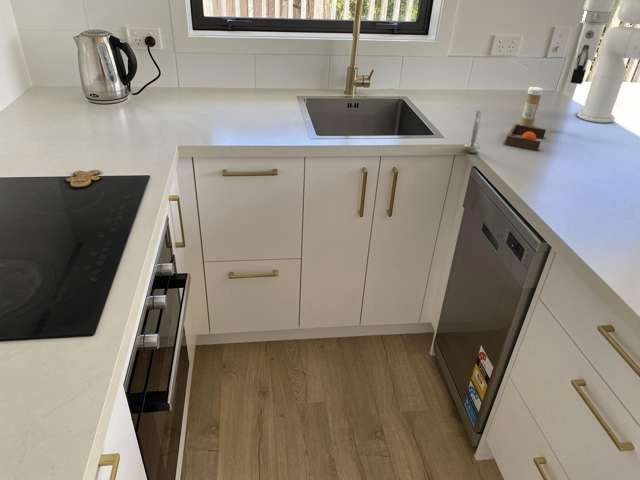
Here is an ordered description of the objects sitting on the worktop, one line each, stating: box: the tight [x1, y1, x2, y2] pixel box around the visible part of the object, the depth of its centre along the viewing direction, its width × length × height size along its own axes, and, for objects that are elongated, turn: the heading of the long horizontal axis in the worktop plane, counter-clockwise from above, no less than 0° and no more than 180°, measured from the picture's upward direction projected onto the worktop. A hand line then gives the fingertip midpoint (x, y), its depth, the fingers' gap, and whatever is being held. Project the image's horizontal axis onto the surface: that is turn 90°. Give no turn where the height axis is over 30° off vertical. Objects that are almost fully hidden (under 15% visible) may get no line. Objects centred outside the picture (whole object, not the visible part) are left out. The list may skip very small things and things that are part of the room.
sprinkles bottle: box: [519, 86, 544, 127], centre depth 167 cm, size 5×5×14 cm
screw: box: [463, 109, 482, 154], centre depth 146 cm, size 13×5×5 cm
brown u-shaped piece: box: [504, 123, 547, 152], centre depth 158 cm, size 14×10×3 cm
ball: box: [520, 132, 537, 140], centre depth 154 cm, size 4×4×4 cm
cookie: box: [65, 169, 101, 189], centre depth 126 cm, size 8×1×10 cm
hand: (576, 82), depth 147 cm, fingers closed
